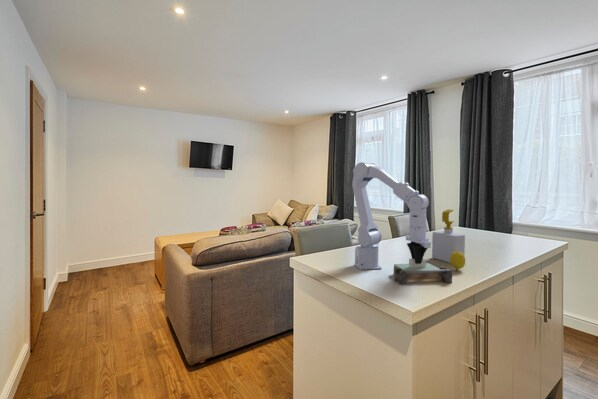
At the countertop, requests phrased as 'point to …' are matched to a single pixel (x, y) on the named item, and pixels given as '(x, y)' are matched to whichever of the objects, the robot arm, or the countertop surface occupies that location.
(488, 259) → the countertop surface
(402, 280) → the brown wooden tray
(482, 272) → the countertop surface
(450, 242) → the soap bottle
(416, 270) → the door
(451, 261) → the lemon
